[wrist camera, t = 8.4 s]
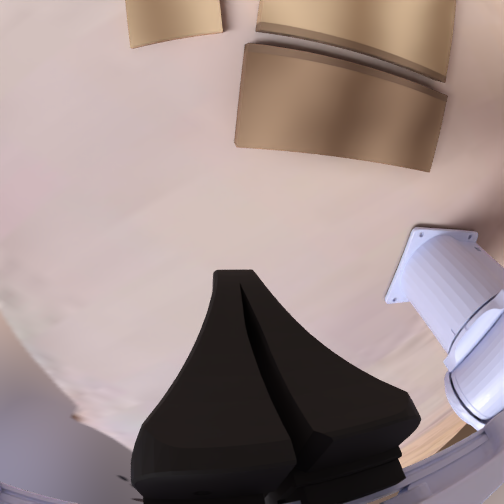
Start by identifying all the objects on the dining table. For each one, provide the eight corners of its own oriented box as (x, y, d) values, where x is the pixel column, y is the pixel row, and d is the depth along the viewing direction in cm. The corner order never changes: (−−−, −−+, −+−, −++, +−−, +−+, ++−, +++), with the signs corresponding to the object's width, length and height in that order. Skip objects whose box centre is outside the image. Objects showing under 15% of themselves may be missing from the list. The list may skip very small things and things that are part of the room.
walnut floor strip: (436, 92, 17) (447, 95, 16) (420, 166, 21) (429, 172, 20) (244, 44, 15) (248, 42, 14) (234, 142, 18) (236, 147, 17)
